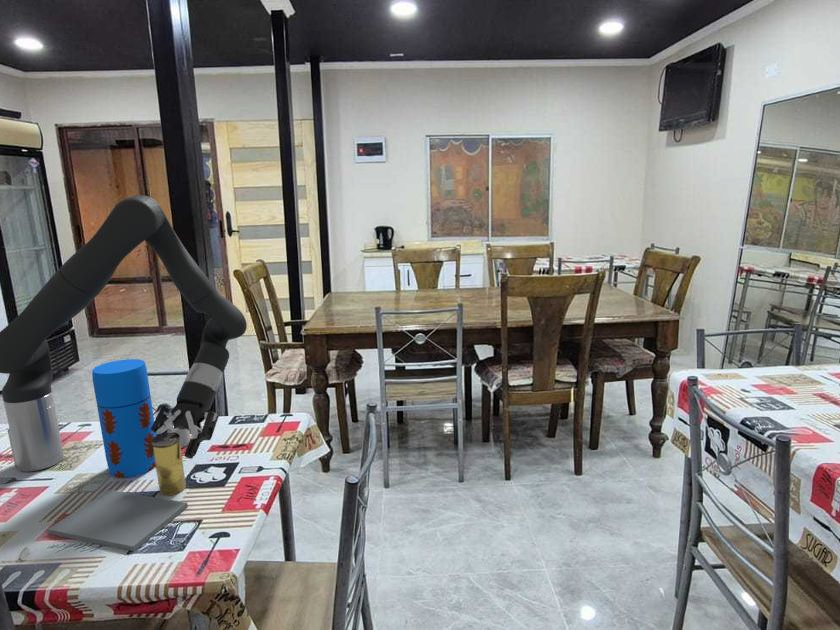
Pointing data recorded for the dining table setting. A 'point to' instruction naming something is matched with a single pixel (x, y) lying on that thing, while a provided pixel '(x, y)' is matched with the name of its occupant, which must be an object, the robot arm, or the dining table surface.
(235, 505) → the dining table surface
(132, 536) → the slate board
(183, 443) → the cup
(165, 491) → the canister
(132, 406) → the thermos
